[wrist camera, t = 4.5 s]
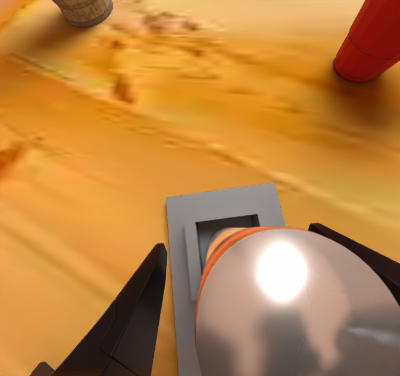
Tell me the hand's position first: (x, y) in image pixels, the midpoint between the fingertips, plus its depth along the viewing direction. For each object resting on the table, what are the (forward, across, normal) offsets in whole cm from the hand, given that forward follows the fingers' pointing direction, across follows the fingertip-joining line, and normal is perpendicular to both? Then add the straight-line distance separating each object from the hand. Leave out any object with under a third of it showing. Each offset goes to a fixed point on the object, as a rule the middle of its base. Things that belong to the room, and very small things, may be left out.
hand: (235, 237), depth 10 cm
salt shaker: (+4, 0, +6) cm, 7 cm away
